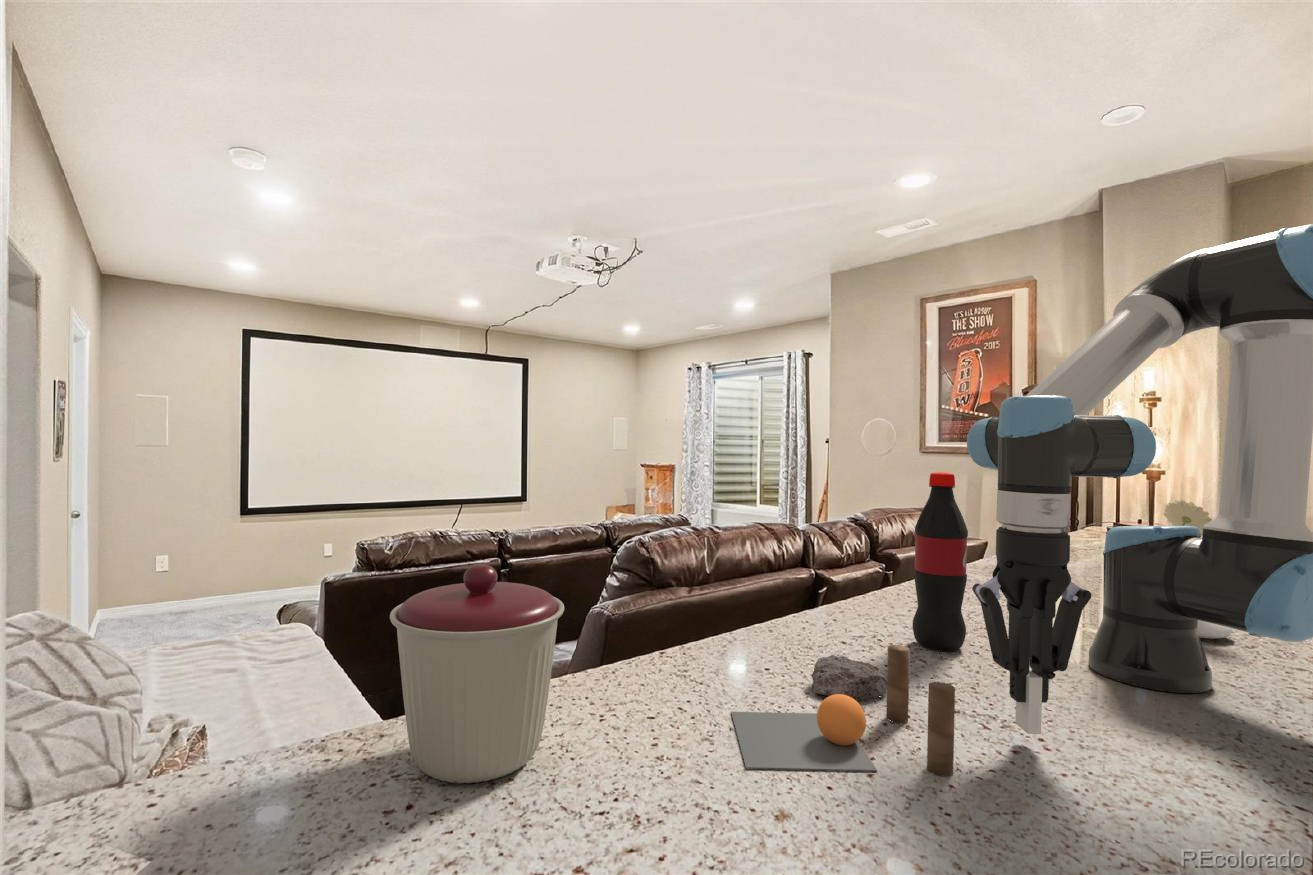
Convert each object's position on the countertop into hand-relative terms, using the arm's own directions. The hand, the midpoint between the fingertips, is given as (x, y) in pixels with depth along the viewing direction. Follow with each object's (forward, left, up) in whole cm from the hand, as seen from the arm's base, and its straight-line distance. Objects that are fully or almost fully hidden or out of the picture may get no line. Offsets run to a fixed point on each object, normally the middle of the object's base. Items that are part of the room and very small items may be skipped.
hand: (1028, 728), depth 77 cm
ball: (+22, 0, +1) cm, 22 cm away
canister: (+63, +6, -2) cm, 63 cm away
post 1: (+13, -6, -2) cm, 15 cm away
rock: (+16, -16, -2) cm, 23 cm away
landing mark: (+27, 0, -2) cm, 27 cm away
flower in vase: (-57, -47, -2) cm, 74 cm away
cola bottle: (-5, -36, -2) cm, 36 cm away
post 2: (+13, +6, -2) cm, 15 cm away
